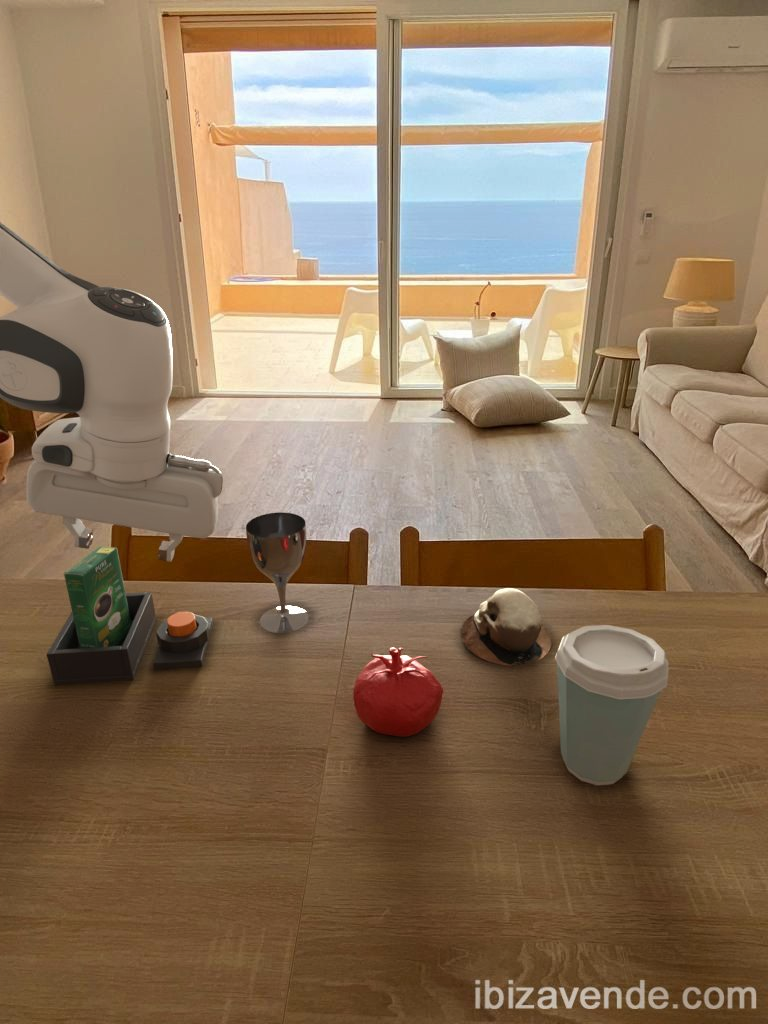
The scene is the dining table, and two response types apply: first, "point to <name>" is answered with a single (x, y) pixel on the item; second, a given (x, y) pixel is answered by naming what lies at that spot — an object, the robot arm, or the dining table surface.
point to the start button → (181, 624)
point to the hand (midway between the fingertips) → (125, 551)
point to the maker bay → (103, 649)
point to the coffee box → (98, 599)
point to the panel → (183, 646)
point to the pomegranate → (397, 694)
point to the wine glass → (279, 563)
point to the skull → (506, 629)
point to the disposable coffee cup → (606, 698)
